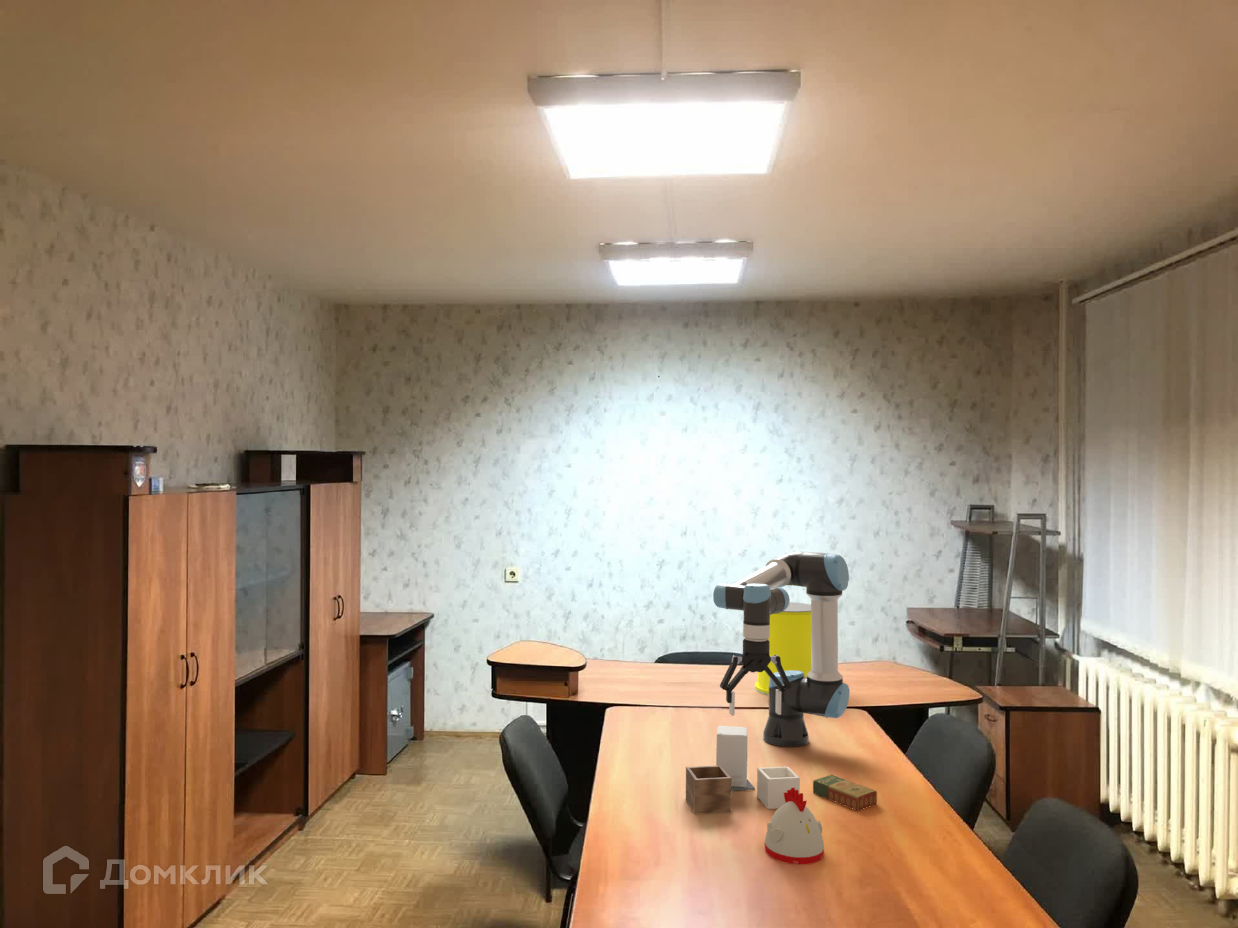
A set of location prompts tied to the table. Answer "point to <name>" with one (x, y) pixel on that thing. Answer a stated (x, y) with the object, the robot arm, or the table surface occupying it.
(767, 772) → the ceramic pot
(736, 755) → the supplement box
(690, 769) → the walnut pot
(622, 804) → the table surface
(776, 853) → the kitchen timer
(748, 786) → the coaster
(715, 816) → the table surface
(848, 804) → the carton
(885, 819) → the table surface
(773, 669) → the container
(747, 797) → the table surface
